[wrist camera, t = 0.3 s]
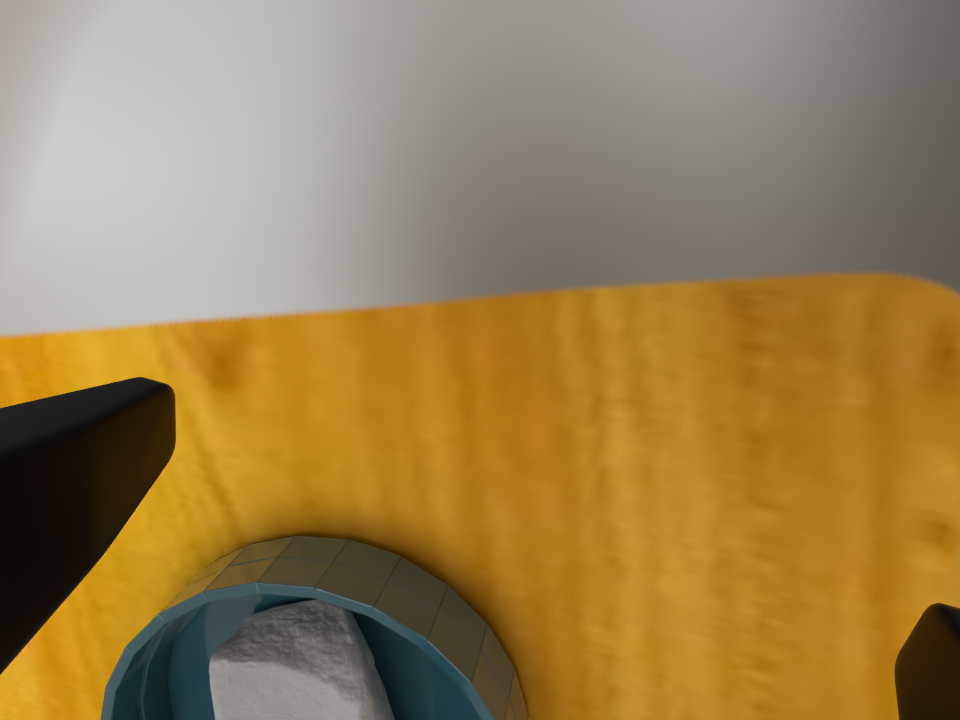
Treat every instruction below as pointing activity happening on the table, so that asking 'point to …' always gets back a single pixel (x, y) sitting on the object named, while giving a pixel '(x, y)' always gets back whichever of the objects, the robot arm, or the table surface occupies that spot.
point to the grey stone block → (298, 668)
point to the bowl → (339, 581)
